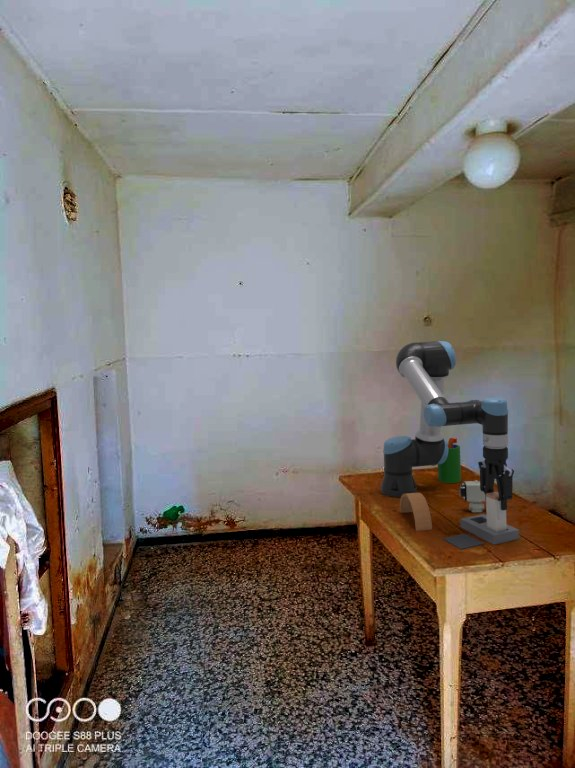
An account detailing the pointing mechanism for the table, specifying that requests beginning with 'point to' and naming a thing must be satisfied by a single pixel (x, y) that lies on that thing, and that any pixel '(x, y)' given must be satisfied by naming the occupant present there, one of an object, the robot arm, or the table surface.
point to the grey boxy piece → (488, 530)
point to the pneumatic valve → (473, 495)
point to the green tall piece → (451, 464)
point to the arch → (417, 510)
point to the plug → (494, 513)
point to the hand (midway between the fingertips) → (496, 516)
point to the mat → (463, 541)
